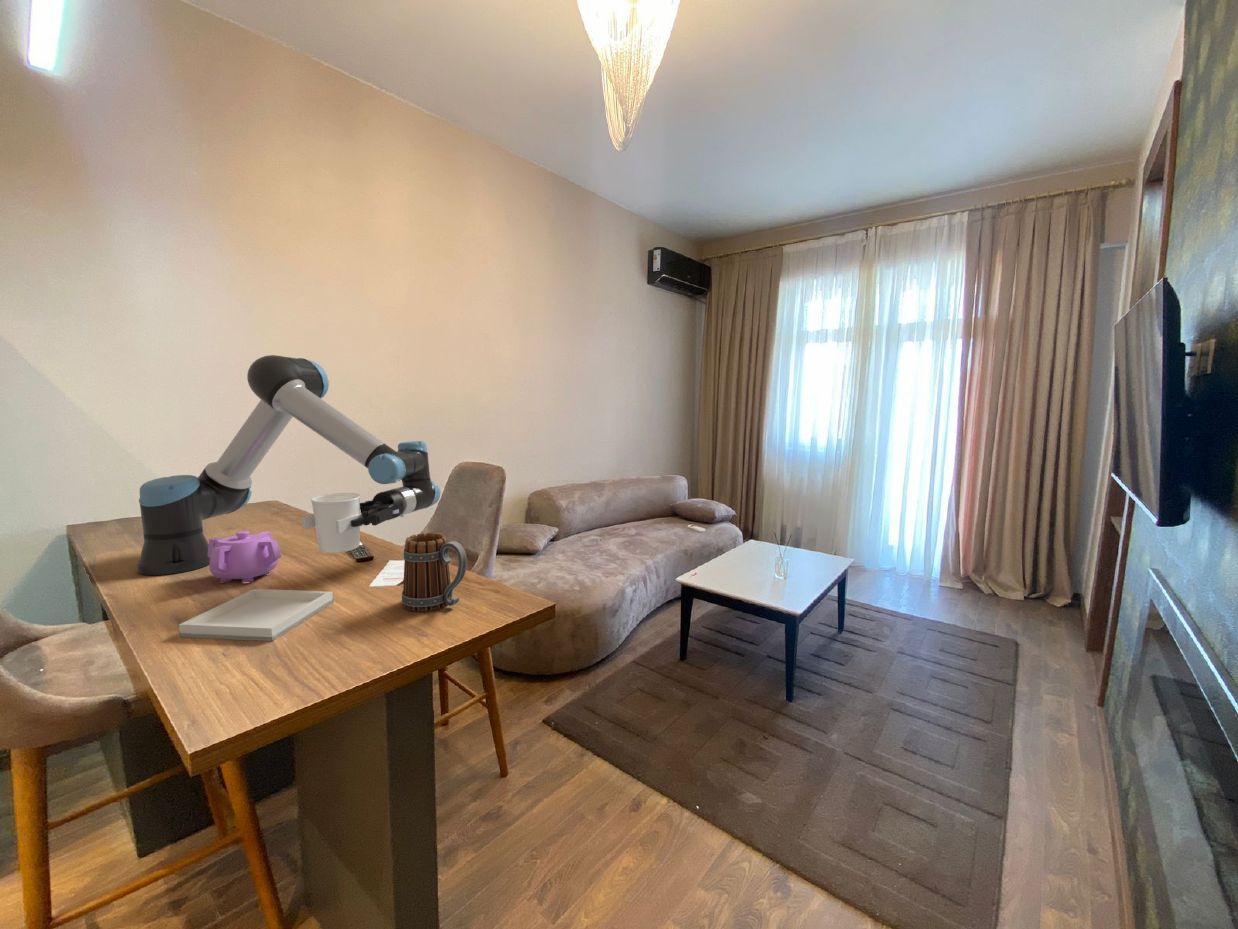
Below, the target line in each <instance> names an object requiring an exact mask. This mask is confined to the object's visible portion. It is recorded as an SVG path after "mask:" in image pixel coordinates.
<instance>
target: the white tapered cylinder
mask: <svg viewBox="0 0 1238 929" xmlns="http://www.w3.org/2000/svg"><path fill="white" fill-rule="evenodd" d="M310 501H311V505H312V512H313V513H312V514H314V520H315V526H314V527H315V534H316V540H317V545H318V550H319V551H320V552H321V553H326V554H337V553H338V554H339V553H345V552H348V551H353V550H355V549H357V548H358V547H359V546H360V544H361V526H360V527H357V528H354V529H350V530H347V531H344V532H341V533H336V521H337V520H341V519H344V518H348V517H352V516H355V515H358V514H361V510H360V503H361V495H360V494H359V493H358V494H357V493H355V492H338V493H329V494H322V495H317V496H314V497H312V498H311V500H310Z"/></svg>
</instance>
